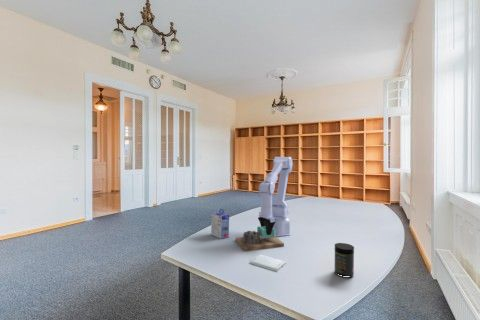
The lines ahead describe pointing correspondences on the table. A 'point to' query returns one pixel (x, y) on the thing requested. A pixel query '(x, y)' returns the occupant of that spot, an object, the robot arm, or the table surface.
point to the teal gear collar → (263, 232)
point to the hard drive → (268, 262)
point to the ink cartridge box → (220, 225)
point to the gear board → (257, 241)
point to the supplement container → (344, 259)
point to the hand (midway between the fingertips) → (266, 232)
